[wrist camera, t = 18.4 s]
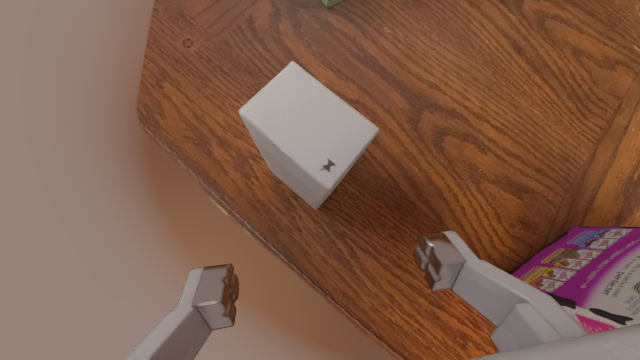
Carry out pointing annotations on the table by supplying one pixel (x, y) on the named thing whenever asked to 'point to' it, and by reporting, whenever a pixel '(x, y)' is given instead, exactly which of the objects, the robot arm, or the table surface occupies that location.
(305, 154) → the cosmetic box
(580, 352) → the robot arm
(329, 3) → the chest
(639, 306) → the candy bar box
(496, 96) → the table surface
